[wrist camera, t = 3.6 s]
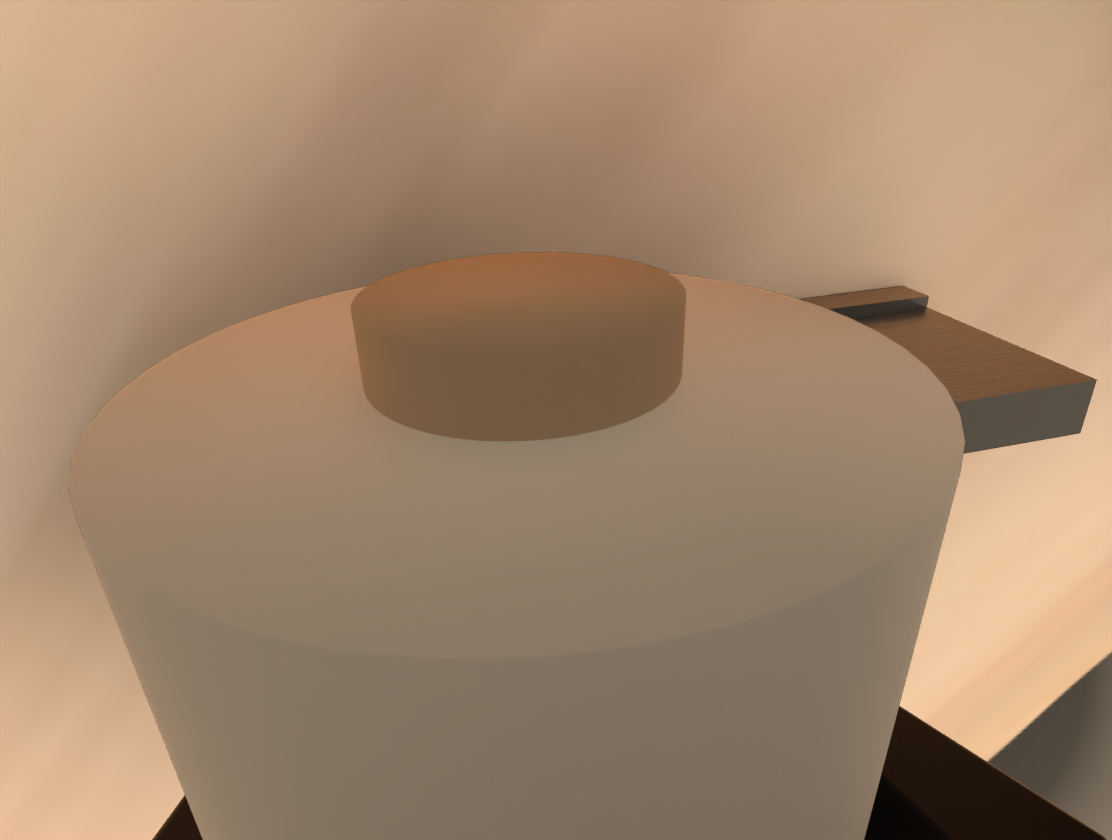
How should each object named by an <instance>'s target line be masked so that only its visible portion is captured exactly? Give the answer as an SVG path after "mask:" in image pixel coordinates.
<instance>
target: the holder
mask: <svg viewBox="0 0 1112 840" xmlns="http://www.w3.org/2000/svg"><path fill="white" fill-rule="evenodd" d="M928 297H929V296H927V295H925V294H922V293H920V292H917V291H915V290H912V289H910V288H907V287H905V286H900V287H892V288H884V289H876V290H868V291H860V292H852V293H844V294H837V295H829V296H821V297H813V298H805V299H799V300H802V301H806V302H809V303H812V304H815V305H818V306H821V307H823V308H826V309H829V310H831V311H834V312H836V313H839V314H841V315H844V316H846V317H849V318H851V319H853V320H855V321H857V322H859V323H861V324H863V325H865V326H867V327H869V328H871V329H873V330H875V331H878V332H879V333H881V334H883V335H884V336H886V337H887V338H889V339H891V340H892V341H894V342H895V343H897V344H899V345H900V346H902V347H903V348H905V349H906V350H907V351H909V352H910V353H911V354H912V355H914V356H915V357H916V358H917V359H918V360H920V361H921V362H922V363H923V364H925V365H926V366H927V367H928V368H929V369H930V370H931V371H932V372H933V374H934V375H935V376H936V377H937V378H938V379H939V381H940V382H941V383H942V384H943V385H944V386H945V388H946V389H947V390H948V392H949V394H950V396H951V398H952V400H953V402H954V404H955V406H956V407H957V409H958V411H959V413H960V417H961V422H962V428H963V433H964V438H965V446H964V452H963V454H964V453H970V452H976V451H981V450H987V449H993V448H999V447H1004V446H1010V445H1016V444H1021V443H1027V442H1033V441H1039V440H1044V439H1050V438H1056V437H1062V436H1067V435H1073V434H1079V433H1080V432H1081V429H1082V426H1083V422H1084V419H1085V416H1086V413H1087V410H1088V406H1089V403H1090V400H1091V397H1092V393H1093V390H1094V387H1095V384H1096V381H1097V380H1096V379H1094V378H1092V377H1089V376H1087V375H1084V374H1082V373H1080V372H1077V371H1075V370H1073V369H1070V368H1068V367H1066V366H1063V365H1061V364H1059V363H1056V362H1054V361H1052V360H1049V359H1047V358H1045V357H1042V356H1040V355H1037V354H1035V353H1033V352H1030V351H1028V350H1026V349H1023V348H1021V347H1019V346H1016V345H1014V344H1012V343H1009V342H1007V341H1005V340H1002V339H1000V338H997V337H995V336H993V335H990V334H988V333H986V332H983V331H981V330H979V329H976V328H974V327H972V326H969V325H967V324H965V323H962V322H960V321H958V320H955V319H953V318H950V317H948V316H946V315H943V314H941V313H939V312H936V311H934V310H932V309H929V308H927V303H928Z"/></svg>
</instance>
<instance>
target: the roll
mask: <svg viewBox="0 0 1112 840" xmlns="http://www.w3.org/2000/svg"><path fill="white" fill-rule="evenodd" d="M964 446H965V438H964V433H963V428H962V422H961V417H960V413H959V411H958V409H957V407H956V406H955V404H954V402H953V400H952V398H951V396H950V394H949V392H948V390H947V389H946V388H945V386H944V385H943V384H942V383H941V382H940V381H939V379H938V378H937V377H936V376H935V375H934V374H933V372H932V371H931V370H930V369H929V368H928V367H927V366H926V365H925V364H923V363H922V362H921V361H920V360H918V359H917V358H916V357H915V356H914V355H912V354H911V353H910V352H909V351H907V350H906V349H905V348H903V347H902V346H900V345H899V344H897V343H895V342H894V341H892V340H891V339H889V338H887V337H886V336H884V335H883V334H881V333H879V332H878V331H875V330H873V329H871V328H869V327H867V326H865V325H863V324H861V323H859V322H857V321H855V320H853V319H851V318H849V317H846V316H844V315H841V314H839V313H836V312H834V311H831V310H829V309H826V308H823V307H821V306H818V305H815V304H812V303H809V302H806V301H802V300H799V299H796V298H793V297H790V296H786V295H783V294H779V293H775V292H771V291H767V290H763V289H759V288H755V287H750V286H746V285H741V284H736V283H731V282H726V281H721V280H714V279H708V278H702V277H695V276H689V275H680V274H672V273H667V272H665V271H662V270H660V269H658V268H655V267H652V266H649V265H646V264H642V263H639V262H635V261H630V260H625V259H620V258H614V257H608V256H600V255H591V254H579V253H560V252H522V253H502V254H490V255H480V256H472V257H464V258H457V259H451V260H445V261H440V262H435V263H430V264H426V265H422V266H417V267H414V268H410V269H407V270H403V271H400V272H397V273H395V274H392V275H389V276H387V277H384V278H382V279H380V280H378V281H376V282H374V283H372V284H370V285H369V286H366V287H361V288H356V289H351V290H346V291H342V292H338V293H334V294H330V295H326V296H322V297H317V298H313V299H310V300H306V301H303V302H299V303H296V304H293V305H289V306H286V307H282V308H279V309H276V310H273V311H270V312H267V313H264V314H262V315H259V316H256V317H253V318H250V319H247V320H244V321H242V322H239V323H237V324H235V325H232V326H230V327H227V328H225V329H222V330H220V331H218V332H215V333H213V334H210V335H208V336H206V337H204V338H202V339H200V340H198V341H196V342H194V343H192V344H190V345H188V346H186V347H184V348H182V349H180V350H178V351H177V352H175V353H173V354H172V355H170V356H168V357H167V358H165V359H163V360H162V361H160V362H158V363H156V364H155V365H153V366H151V367H150V368H149V369H147V370H146V371H145V372H143V373H142V374H140V375H139V376H138V377H136V378H135V379H134V380H132V381H131V382H130V383H128V384H127V385H126V386H124V387H123V388H122V389H121V390H120V391H119V392H118V393H117V394H116V395H115V396H114V397H113V398H112V399H111V400H110V401H109V402H108V403H107V404H105V405H104V406H103V407H102V408H101V409H100V411H99V412H98V413H97V415H96V416H95V418H94V419H93V420H92V422H91V423H90V424H89V426H88V427H87V429H86V430H85V431H84V433H83V434H82V436H81V439H80V441H79V444H78V446H77V448H76V451H75V453H74V456H73V458H72V460H71V469H70V480H69V494H70V498H71V501H72V505H73V509H74V512H75V516H76V519H77V523H78V525H79V528H80V530H81V533H82V535H83V538H84V540H85V543H86V545H87V548H88V550H89V553H90V555H91V558H92V561H93V563H94V566H95V568H96V571H97V573H98V576H99V578H100V581H101V583H102V586H103V588H104V591H105V593H106V596H107V599H108V601H109V604H110V606H111V609H112V611H113V614H114V616H115V619H116V621H117V624H118V626H119V629H120V631H121V634H122V637H123V639H124V642H125V644H126V647H127V649H128V652H129V654H130V657H131V659H132V662H133V664H134V667H135V669H136V672H137V674H138V677H139V680H140V682H141V685H142V687H143V690H144V692H145V695H146V697H147V700H148V702H149V705H150V707H151V710H152V712H153V715H154V718H155V720H156V723H157V725H158V728H159V730H160V733H161V735H162V738H163V740H164V743H165V745H166V748H167V750H168V753H169V755H170V758H171V761H172V763H173V766H174V768H175V771H176V773H177V776H178V778H179V781H180V783H181V786H182V788H183V791H184V793H185V796H186V799H187V801H188V804H189V806H190V809H191V811H192V814H193V816H194V819H195V821H196V824H197V826H198V829H199V831H200V834H201V837H202V839H203V840H864V838H865V834H866V830H867V827H868V823H869V819H870V815H871V811H872V808H873V804H874V800H875V796H876V792H877V789H878V785H879V781H880V777H881V773H882V769H883V766H884V762H885V758H886V754H887V750H888V747H889V743H890V739H891V735H892V731H893V727H894V724H895V720H896V716H897V712H898V708H899V705H900V701H901V697H902V693H903V689H904V686H905V682H906V678H907V674H908V670H909V666H910V663H911V659H912V655H913V651H914V647H915V644H916V640H917V636H918V632H919V628H920V624H921V621H922V617H923V613H924V609H925V605H926V602H927V598H928V594H929V590H930V586H931V582H932V579H933V575H934V571H935V567H936V563H937V560H938V556H939V552H940V548H941V544H942V541H943V537H944V533H945V529H946V525H947V521H948V518H949V514H950V510H951V506H952V502H953V499H954V495H955V491H956V487H957V483H958V479H959V476H960V472H961V466H962V459H963V452H964Z"/></svg>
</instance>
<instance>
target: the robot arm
mask: <svg viewBox="0 0 1112 840" xmlns="http://www.w3.org/2000/svg"><path fill="white" fill-rule="evenodd" d="M152 840H203V839H202V837H201V834H200V831H199V829H198V826H197V824H196V821H195V819H194V816H193V814H192V811H191V809H190V806H189V804H188V801H187V799H186V796H184V797H183V798H182V800H181V801H180V803H179V804H178V805H177V807H176V808H175V809H174V811H173V812H172V813H171V815H170V816H169V818H168V819H167V820H166V822H165V823H164V824H163V826H162V827H161V828H160V830H159V831H158V833H157V834H156V835H155V837H154V838H153V839H152ZM864 840H1106V839H1105V837H1104V836H1102V835H1101V834H1099V833H1098V832H1096V831H1095V830H1093V829H1091V828H1090V827H1088V826H1087V825H1085V824H1084V823H1082V822H1080V821H1079V820H1077V819H1076V818H1074V817H1073V816H1071V815H1069V814H1068V813H1067V812H1065V811H1063V810H1062V809H1060V808H1059V807H1057V806H1056V805H1054V804H1052V803H1051V802H1049V801H1048V800H1046V799H1045V798H1043V797H1041V796H1040V795H1038V794H1037V793H1035V792H1034V791H1032V790H1030V789H1029V788H1027V787H1026V786H1024V785H1023V784H1021V783H1019V782H1018V781H1016V780H1015V779H1013V778H1012V777H1010V776H1008V775H1007V774H1005V773H1004V772H1002V771H1001V770H999V769H998V768H996V767H994V766H993V765H991V764H990V763H988V762H987V761H985V760H983V759H982V758H980V757H979V756H977V755H976V754H974V753H972V752H971V751H969V750H968V749H966V748H965V747H963V746H962V745H960V744H958V743H957V742H955V741H954V740H952V739H951V738H949V737H947V736H946V735H944V734H943V733H941V732H940V731H938V730H936V729H935V728H933V727H932V726H930V725H929V724H927V723H925V722H924V721H922V720H921V719H919V718H918V717H916V716H914V715H913V714H911V713H910V712H908V711H907V710H905V709H904V708H902V707H900V706H899V708H898V712H897V716H896V720H895V724H894V727H893V731H892V735H891V739H890V743H889V747H888V750H887V754H886V758H885V762H884V766H883V769H882V773H881V777H880V781H879V785H878V789H877V792H876V796H875V800H874V804H873V808H872V811H871V815H870V819H869V823H868V827H867V830H866V834H865V838H864Z"/></svg>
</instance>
